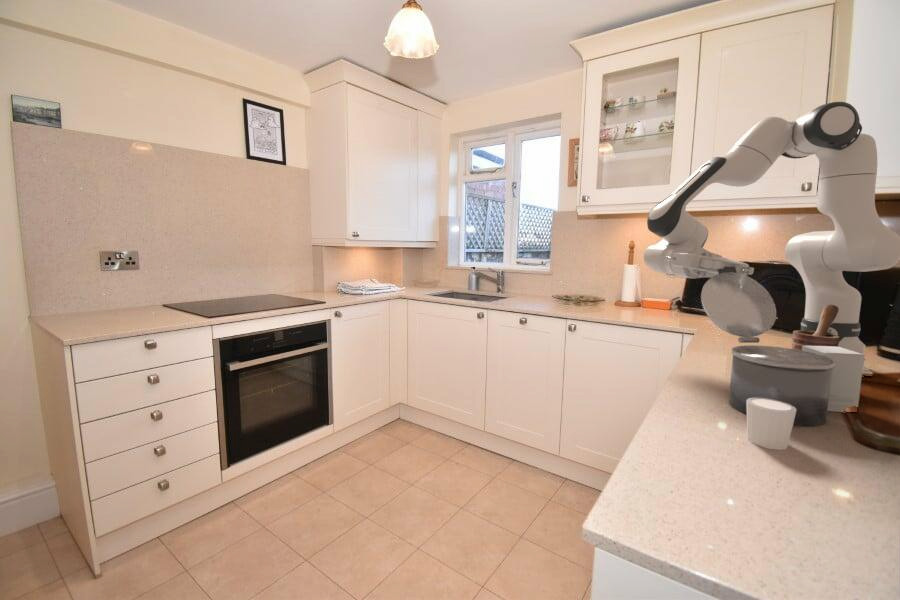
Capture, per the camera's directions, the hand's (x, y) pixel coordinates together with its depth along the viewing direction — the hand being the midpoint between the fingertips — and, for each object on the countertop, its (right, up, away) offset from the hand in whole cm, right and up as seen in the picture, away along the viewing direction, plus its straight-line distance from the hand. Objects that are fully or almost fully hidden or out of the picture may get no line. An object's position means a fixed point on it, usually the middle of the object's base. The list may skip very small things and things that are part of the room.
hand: (736, 268), depth 99 cm
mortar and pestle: (+21, -29, +3) cm, 36 cm away
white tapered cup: (-15, -33, -28) cm, 46 cm away
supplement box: (+11, -31, -12) cm, 35 cm away
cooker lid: (-2, -8, -4) cm, 9 cm away
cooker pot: (-2, -31, -14) cm, 34 cm away
